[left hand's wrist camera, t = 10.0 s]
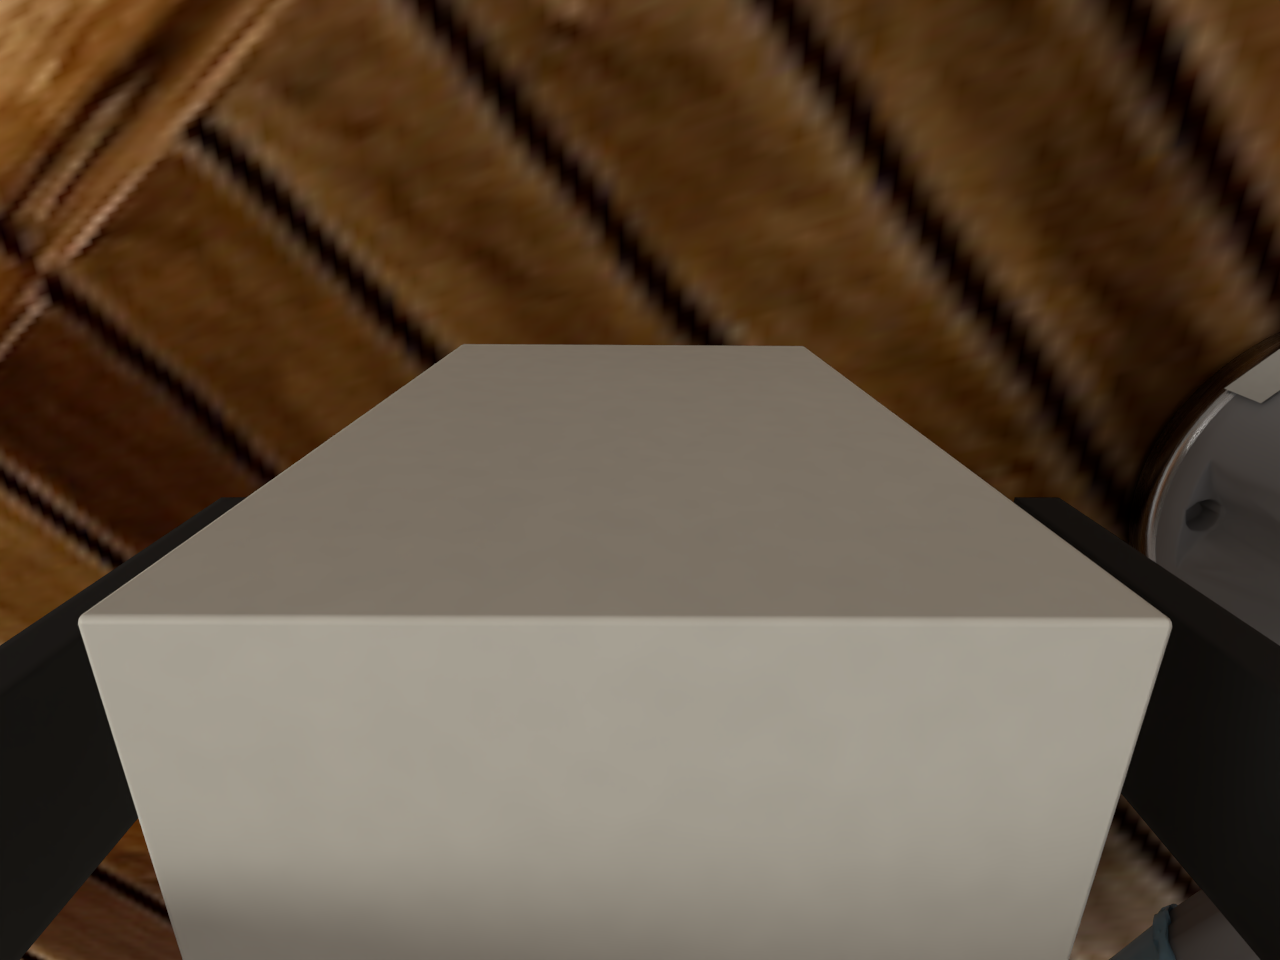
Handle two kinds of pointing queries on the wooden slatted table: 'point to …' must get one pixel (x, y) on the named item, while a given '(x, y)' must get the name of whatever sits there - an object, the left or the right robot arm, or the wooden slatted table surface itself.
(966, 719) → the box
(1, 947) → the left robot arm
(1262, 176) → the wooden slatted table surface
